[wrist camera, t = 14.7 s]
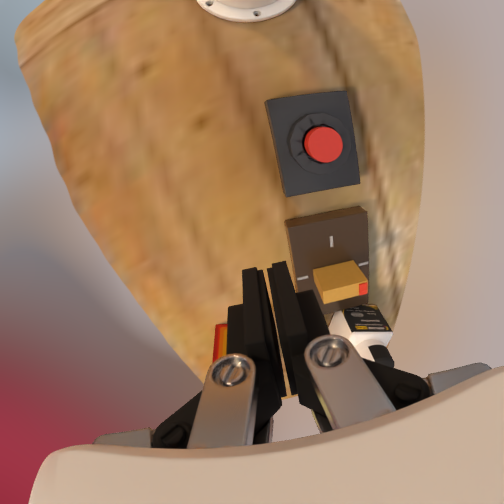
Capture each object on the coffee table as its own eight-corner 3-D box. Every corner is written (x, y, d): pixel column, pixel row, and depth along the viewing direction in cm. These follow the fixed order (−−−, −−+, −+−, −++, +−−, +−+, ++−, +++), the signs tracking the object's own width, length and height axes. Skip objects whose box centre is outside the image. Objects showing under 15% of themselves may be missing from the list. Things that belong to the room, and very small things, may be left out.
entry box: (264, 101, 28) (267, 98, 24) (339, 92, 27) (352, 89, 23) (283, 192, 32) (288, 202, 29) (353, 179, 32) (366, 187, 28)
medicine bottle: (376, 304, 41) (408, 357, 30) (360, 337, 44) (385, 390, 33) (337, 302, 40) (364, 360, 29) (323, 336, 43) (343, 394, 32)
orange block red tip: (314, 281, 35) (324, 305, 30) (312, 269, 34) (323, 292, 30) (353, 271, 35) (368, 294, 30) (353, 259, 34) (369, 281, 29)
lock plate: (284, 220, 34) (287, 228, 32) (359, 205, 33) (367, 212, 31) (299, 309, 40) (302, 320, 38) (362, 293, 40) (368, 303, 37)
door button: (301, 129, 26) (304, 129, 24) (334, 124, 26) (339, 125, 24) (307, 162, 27) (311, 165, 26) (339, 157, 27) (345, 160, 26)
